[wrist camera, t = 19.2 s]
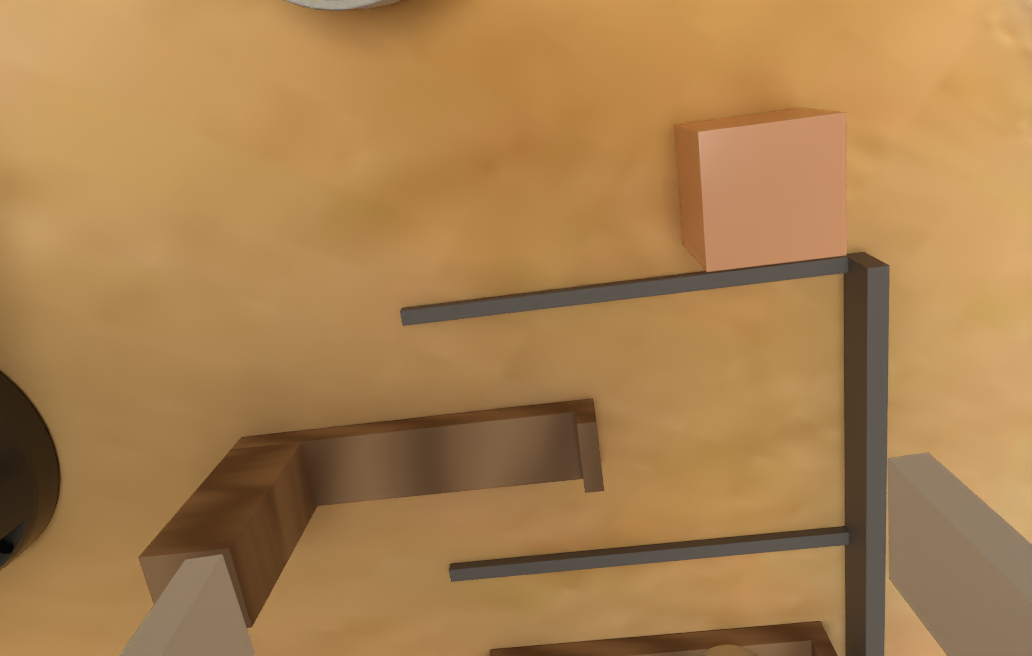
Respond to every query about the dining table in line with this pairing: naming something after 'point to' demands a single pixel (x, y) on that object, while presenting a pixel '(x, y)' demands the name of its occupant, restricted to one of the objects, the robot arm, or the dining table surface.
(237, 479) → the brown l-shaped block
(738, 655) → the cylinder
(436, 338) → the dining table surface
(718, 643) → the brown l-shaped bracket
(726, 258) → the cube
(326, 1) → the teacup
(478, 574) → the bar
